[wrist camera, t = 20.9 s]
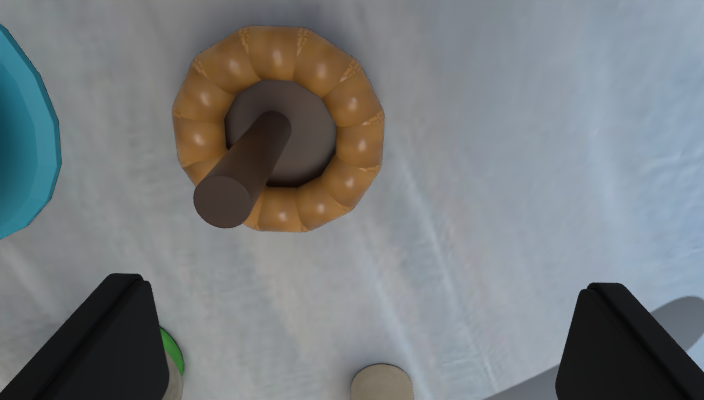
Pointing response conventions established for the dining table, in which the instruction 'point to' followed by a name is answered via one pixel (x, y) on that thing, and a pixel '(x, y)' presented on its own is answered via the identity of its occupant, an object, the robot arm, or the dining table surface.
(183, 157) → the ring
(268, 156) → the post
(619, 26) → the dining table surface
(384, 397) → the candle
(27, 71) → the decorative object
